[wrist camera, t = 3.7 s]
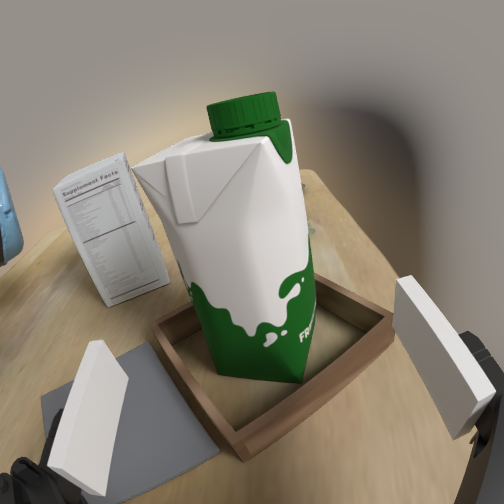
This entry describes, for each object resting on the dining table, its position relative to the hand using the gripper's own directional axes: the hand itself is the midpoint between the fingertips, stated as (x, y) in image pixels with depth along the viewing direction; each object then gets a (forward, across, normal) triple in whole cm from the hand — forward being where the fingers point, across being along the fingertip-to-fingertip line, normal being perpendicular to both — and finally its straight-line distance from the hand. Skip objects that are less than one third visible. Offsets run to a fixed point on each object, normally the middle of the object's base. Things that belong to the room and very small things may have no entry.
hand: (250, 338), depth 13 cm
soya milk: (+10, 0, -11) cm, 15 cm away
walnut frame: (+10, 0, -11) cm, 15 cm away
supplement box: (+26, -17, -11) cm, 33 cm away
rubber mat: (+3, -14, -11) cm, 18 cm away
